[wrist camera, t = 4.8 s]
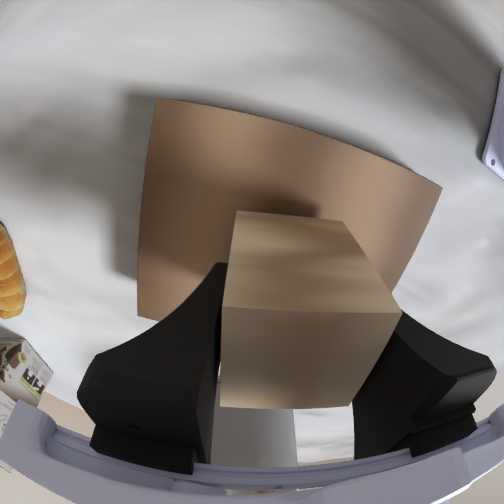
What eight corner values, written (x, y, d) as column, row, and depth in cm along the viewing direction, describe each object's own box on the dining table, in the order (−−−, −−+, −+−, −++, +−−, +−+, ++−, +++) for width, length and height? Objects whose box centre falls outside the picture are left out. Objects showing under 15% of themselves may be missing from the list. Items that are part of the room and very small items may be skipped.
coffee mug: (296, 378, 23) (307, 480, 14) (287, 423, 28) (293, 498, 19) (153, 374, 23) (129, 467, 15) (176, 419, 28) (164, 491, 19)
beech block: (342, 221, 11) (402, 313, 6) (320, 304, 14) (348, 406, 8) (236, 210, 11) (222, 306, 6) (230, 298, 13) (220, 406, 8)
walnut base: (415, 172, 14) (442, 187, 11) (341, 324, 20) (351, 353, 17) (176, 99, 12) (157, 98, 10) (151, 286, 18) (137, 315, 15)
